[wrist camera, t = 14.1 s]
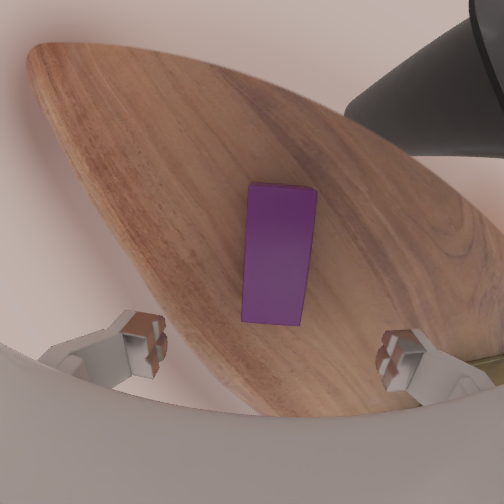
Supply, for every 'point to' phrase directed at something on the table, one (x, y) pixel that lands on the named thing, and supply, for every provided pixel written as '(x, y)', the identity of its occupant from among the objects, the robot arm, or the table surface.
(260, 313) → the purple rectangular block
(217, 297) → the table surface
